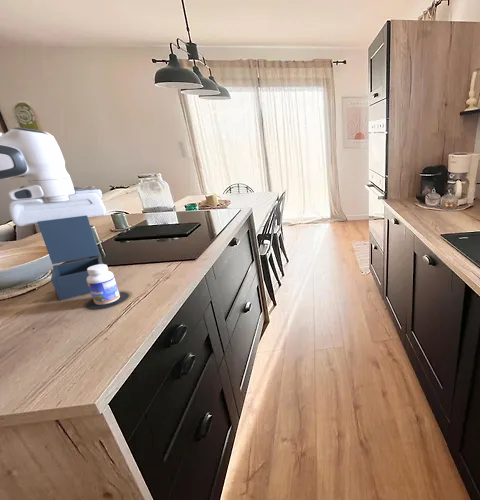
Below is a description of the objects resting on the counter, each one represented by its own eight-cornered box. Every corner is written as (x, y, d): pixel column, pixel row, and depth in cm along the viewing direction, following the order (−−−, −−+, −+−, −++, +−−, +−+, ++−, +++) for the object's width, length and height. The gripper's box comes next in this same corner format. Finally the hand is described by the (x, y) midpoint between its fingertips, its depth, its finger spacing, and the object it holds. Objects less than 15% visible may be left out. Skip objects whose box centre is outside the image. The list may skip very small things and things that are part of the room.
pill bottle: (89, 304, 75) (76, 270, 71) (110, 293, 80) (99, 261, 76) (105, 306, 74) (93, 272, 70) (125, 296, 78) (115, 263, 75)
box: (110, 289, 83) (103, 267, 81) (60, 302, 77) (50, 279, 74) (107, 276, 91) (100, 256, 89) (61, 286, 85) (53, 265, 82)
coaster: (80, 314, 71) (79, 312, 71) (94, 297, 79) (94, 295, 79) (123, 306, 74) (123, 305, 74) (133, 291, 82) (132, 289, 82)
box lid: (87, 215, 87) (87, 215, 87) (37, 221, 80) (37, 221, 81) (100, 255, 88) (100, 255, 89) (52, 264, 82) (52, 264, 82)
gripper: (99, 184, 91) (112, 225, 96) (3, 191, 79) (23, 239, 84) (100, 186, 87) (114, 229, 92) (-2, 194, 74) (21, 244, 79)
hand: (70, 234), depth 88 cm, fingers closed
